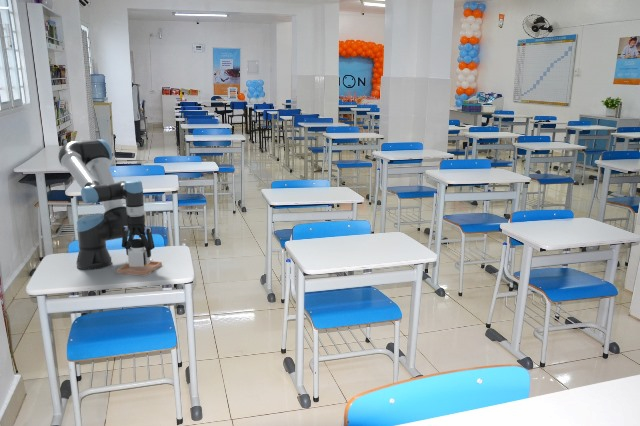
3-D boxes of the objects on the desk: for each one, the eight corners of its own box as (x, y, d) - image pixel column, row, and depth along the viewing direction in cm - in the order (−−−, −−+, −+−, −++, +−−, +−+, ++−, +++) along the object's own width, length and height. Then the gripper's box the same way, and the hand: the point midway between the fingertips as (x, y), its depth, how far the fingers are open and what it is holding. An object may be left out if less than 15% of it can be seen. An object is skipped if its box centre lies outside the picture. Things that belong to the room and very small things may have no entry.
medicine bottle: (144, 267, 237) (142, 241, 234) (128, 266, 237) (126, 241, 235) (149, 261, 244) (148, 237, 241) (134, 261, 244) (132, 237, 242)
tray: (117, 272, 236) (116, 269, 236) (134, 262, 250) (134, 259, 249) (145, 275, 233) (145, 272, 233) (161, 265, 247) (161, 261, 246)
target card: (135, 262, 250) (135, 260, 250) (141, 258, 255) (141, 257, 255) (147, 263, 249) (147, 261, 249) (152, 259, 254) (152, 258, 254)
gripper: (110, 215, 234) (114, 263, 239) (152, 218, 230) (155, 267, 235) (119, 211, 241) (123, 258, 246) (160, 214, 237) (164, 262, 242)
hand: (139, 262), depth 241 cm, fingers closed on medicine bottle, 8 cm apart
